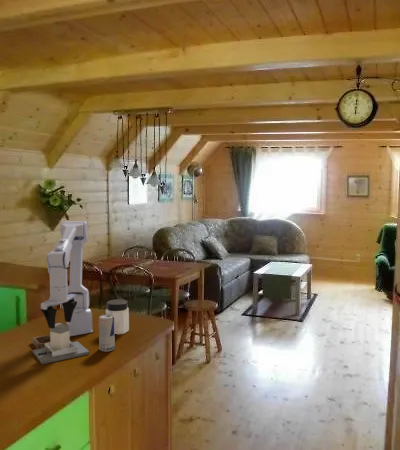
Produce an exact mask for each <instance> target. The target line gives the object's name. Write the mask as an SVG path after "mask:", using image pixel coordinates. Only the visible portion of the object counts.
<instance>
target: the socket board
mask: <svg viewBox="0 0 400 450" xmlns="http://www.w3.org/2000/svg"><path fill="white" fill-rule="evenodd" d="M43 343H44V342H43ZM32 354H33V355H34V357H35V358H36V359H37V360H38V361H39V362H40V364H41V365H45V364H49V363H55V362H60V361H63V360H68V359H73V358H79V357H82V356H87V355H90V351H89V350H88V349H87V348H86V347H84V346H83V344H81V343H80V342H79V341H71V340H70V348H65V349H60V350H55V351H54V350H53V349H52V348H51V342H50V343H44V348H41V349H37V348H35V349H32Z"/></svg>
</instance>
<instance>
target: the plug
mask: <svg viewBox="0 0 400 450" xmlns="http://www.w3.org/2000/svg"><path fill="white" fill-rule="evenodd" d="M49 335H50V342H51V348H52V349H53V350H54V351H55V350H60V349H65V348H70V341H71V340H70V337H71V336H69V325H67V323H62V322H57V323H55V328H49Z"/></svg>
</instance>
